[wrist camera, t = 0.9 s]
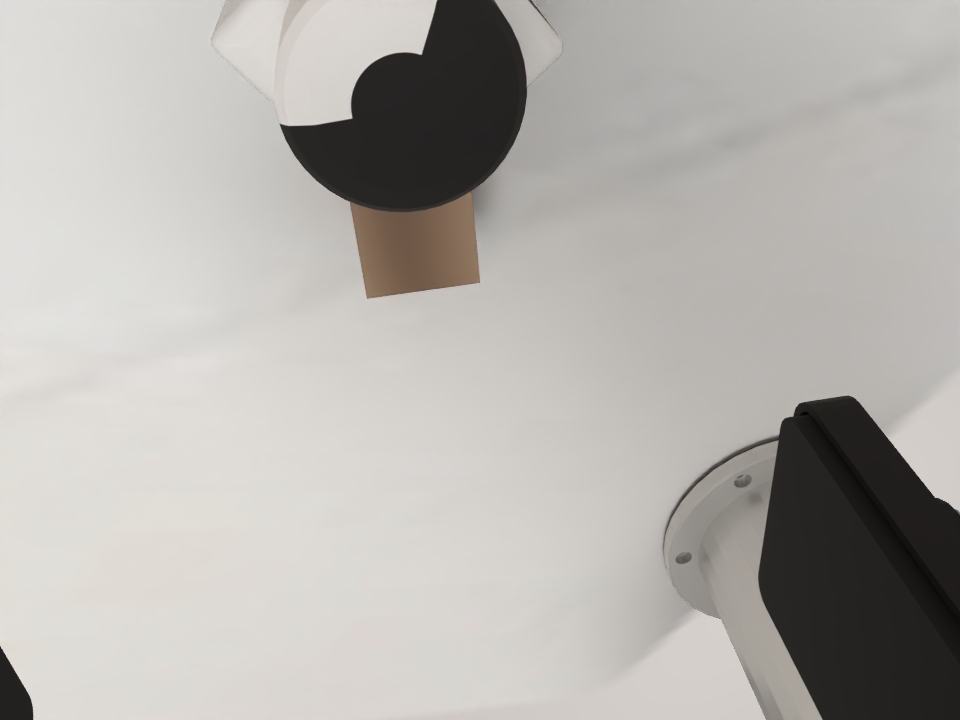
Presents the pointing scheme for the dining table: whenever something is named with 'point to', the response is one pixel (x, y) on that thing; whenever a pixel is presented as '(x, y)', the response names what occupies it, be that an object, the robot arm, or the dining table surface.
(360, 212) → the walnut block
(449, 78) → the medicine bottle
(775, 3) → the dining table surface
